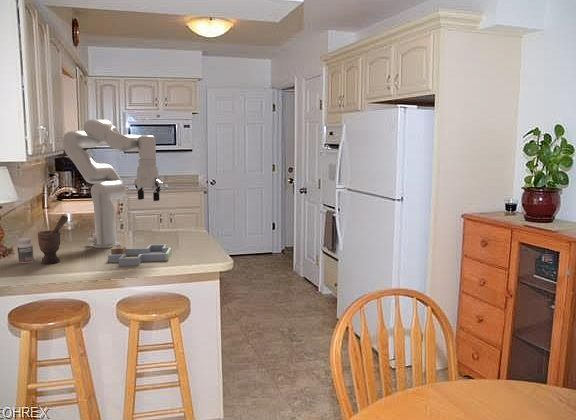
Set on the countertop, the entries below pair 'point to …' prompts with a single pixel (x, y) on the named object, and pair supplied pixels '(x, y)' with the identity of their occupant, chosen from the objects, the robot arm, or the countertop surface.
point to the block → (118, 250)
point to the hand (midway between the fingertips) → (148, 200)
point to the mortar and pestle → (51, 242)
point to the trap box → (142, 255)
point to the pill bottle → (25, 250)
